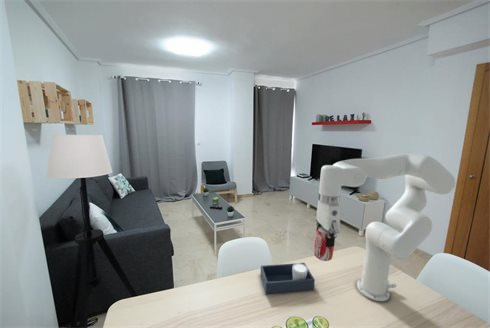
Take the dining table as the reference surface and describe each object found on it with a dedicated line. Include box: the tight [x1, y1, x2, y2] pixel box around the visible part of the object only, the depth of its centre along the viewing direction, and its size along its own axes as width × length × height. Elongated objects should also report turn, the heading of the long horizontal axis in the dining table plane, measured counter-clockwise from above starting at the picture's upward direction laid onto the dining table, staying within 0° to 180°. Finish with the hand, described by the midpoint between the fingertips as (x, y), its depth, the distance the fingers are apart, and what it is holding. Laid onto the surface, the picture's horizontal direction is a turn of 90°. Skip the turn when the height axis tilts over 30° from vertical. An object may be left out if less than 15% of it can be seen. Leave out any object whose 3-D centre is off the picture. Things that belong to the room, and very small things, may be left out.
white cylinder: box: [292, 262, 309, 280], centre depth 102 cm, size 7×7×7 cm
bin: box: [260, 262, 315, 296], centre depth 101 cm, size 22×12×6 cm, turn 97°
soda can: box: [313, 226, 335, 262], centre depth 87 cm, size 7×7×12 cm
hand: (324, 240), depth 87 cm, fingers closed on soda can, 7 cm apart
